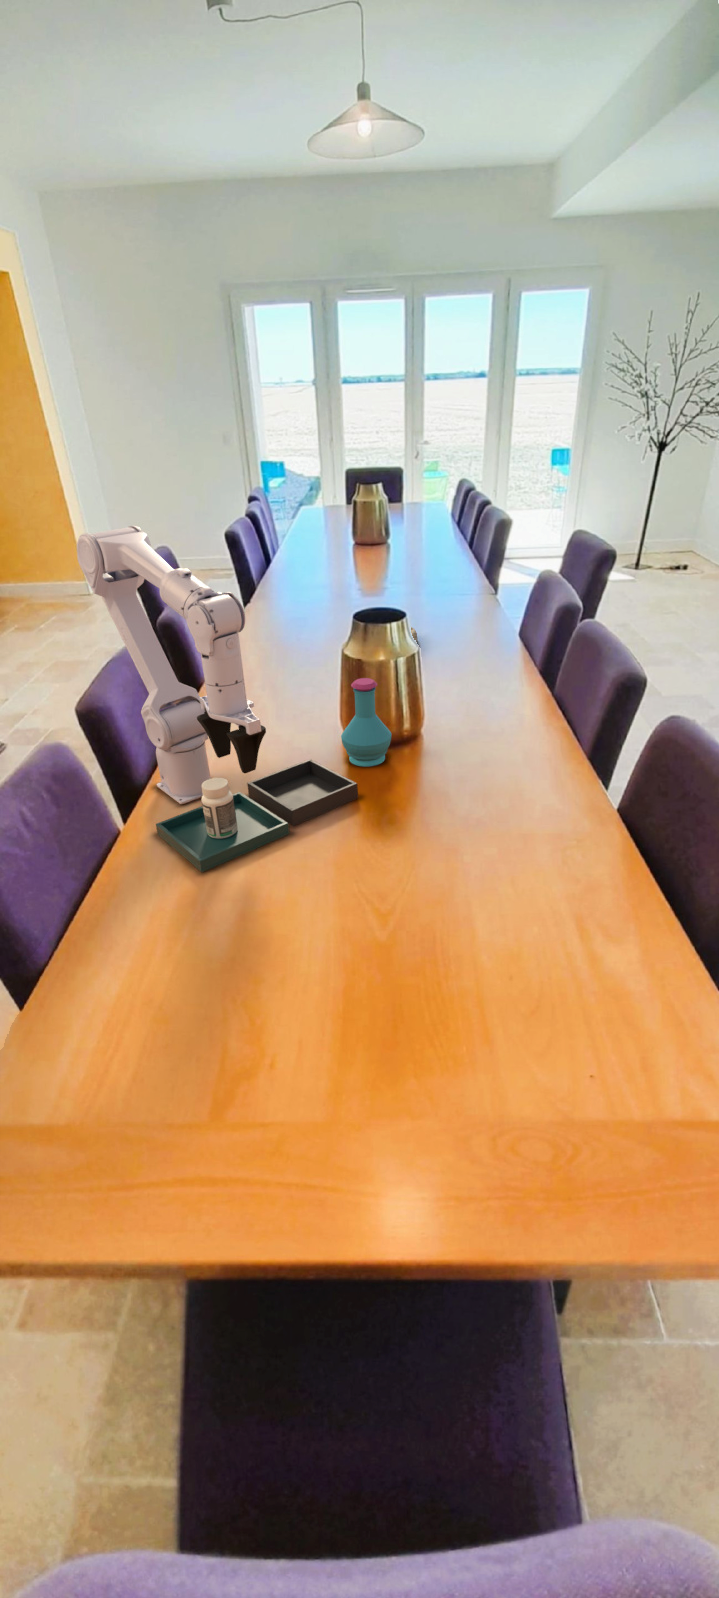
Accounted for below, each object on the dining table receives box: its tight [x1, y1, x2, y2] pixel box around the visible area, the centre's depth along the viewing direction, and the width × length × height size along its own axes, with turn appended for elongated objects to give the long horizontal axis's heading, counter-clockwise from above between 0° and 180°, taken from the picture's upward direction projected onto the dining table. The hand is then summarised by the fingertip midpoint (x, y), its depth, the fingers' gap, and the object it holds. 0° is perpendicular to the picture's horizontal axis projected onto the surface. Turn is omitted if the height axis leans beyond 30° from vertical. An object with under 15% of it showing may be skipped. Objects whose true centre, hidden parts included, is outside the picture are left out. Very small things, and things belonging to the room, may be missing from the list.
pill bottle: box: [200, 777, 238, 839], centre depth 109 cm, size 5×5×8 cm
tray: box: [155, 791, 290, 873], centre depth 111 cm, size 14×15×2 cm
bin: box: [246, 758, 359, 827], centre depth 120 cm, size 13×13×3 cm
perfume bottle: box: [340, 677, 392, 768], centre depth 130 cm, size 9×9×15 cm
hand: (236, 763), depth 112 cm, fingers open, 7 cm apart
